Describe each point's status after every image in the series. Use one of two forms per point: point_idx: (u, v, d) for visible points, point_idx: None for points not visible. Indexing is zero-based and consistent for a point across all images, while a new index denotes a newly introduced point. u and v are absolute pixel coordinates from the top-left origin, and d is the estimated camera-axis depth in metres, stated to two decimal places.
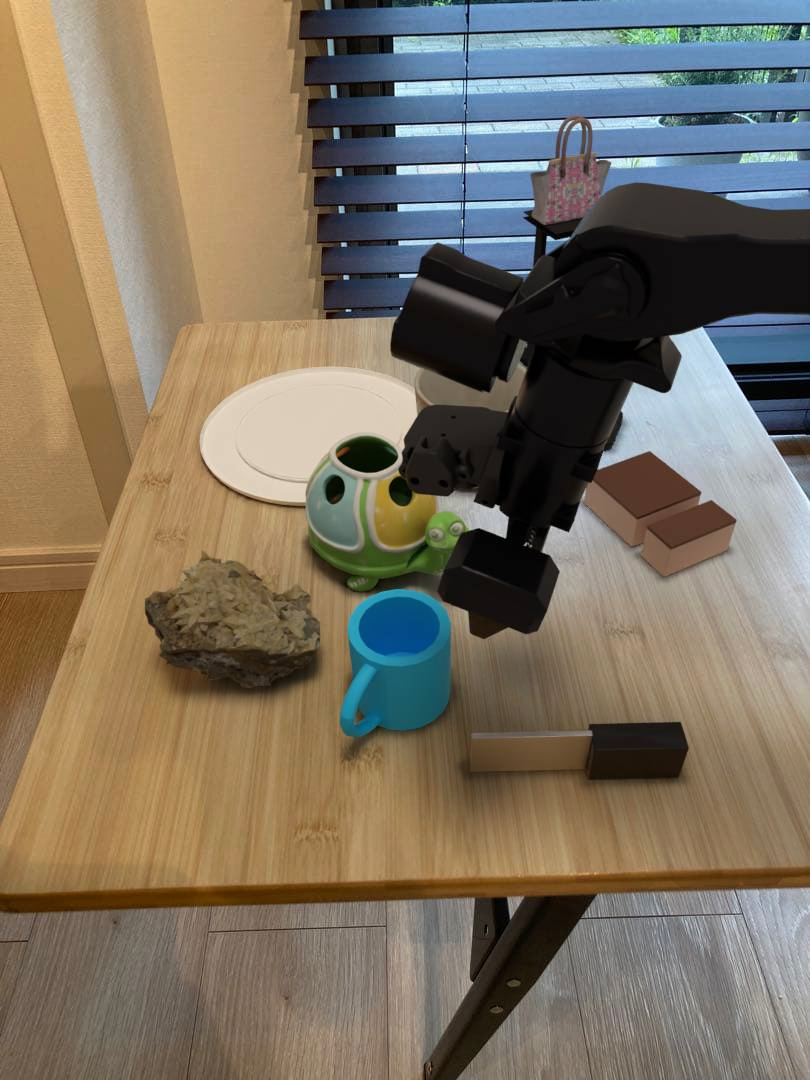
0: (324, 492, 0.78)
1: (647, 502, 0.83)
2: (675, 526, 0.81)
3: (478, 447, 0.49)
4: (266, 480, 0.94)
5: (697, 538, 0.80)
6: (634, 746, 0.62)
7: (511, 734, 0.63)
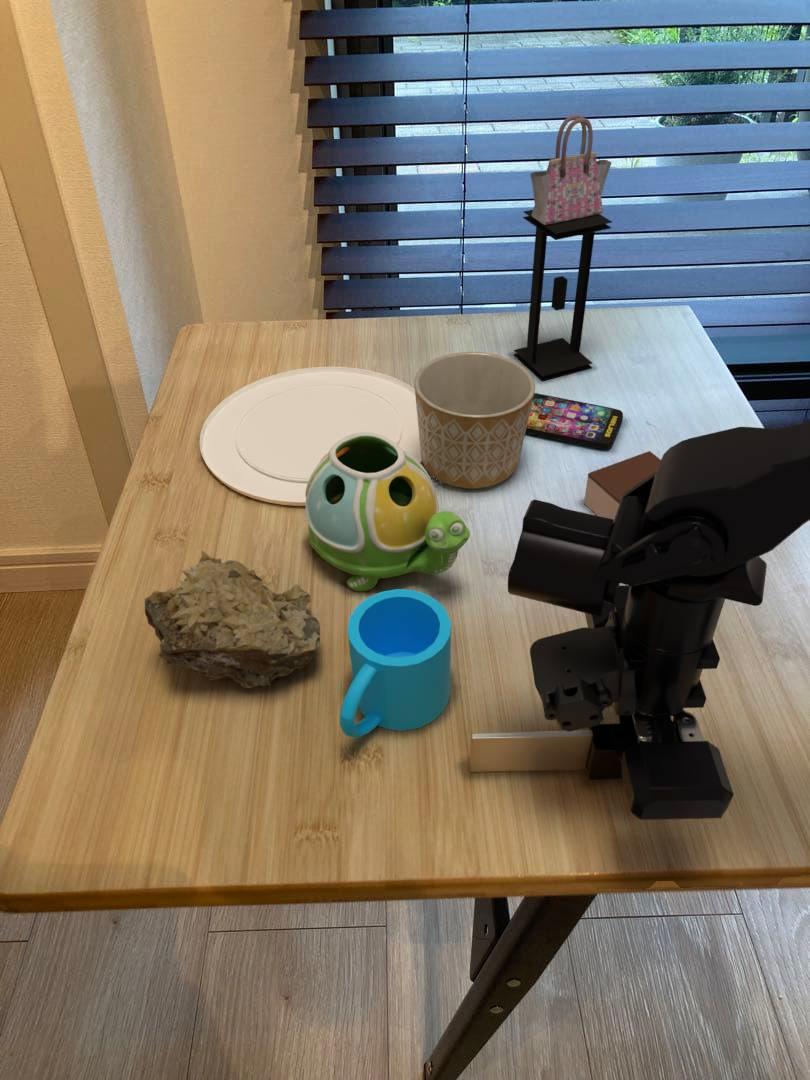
0: (324, 492, 0.78)
1: None
2: None
3: (608, 673, 0.55)
4: (266, 480, 0.94)
5: None
6: None
7: (511, 734, 0.63)
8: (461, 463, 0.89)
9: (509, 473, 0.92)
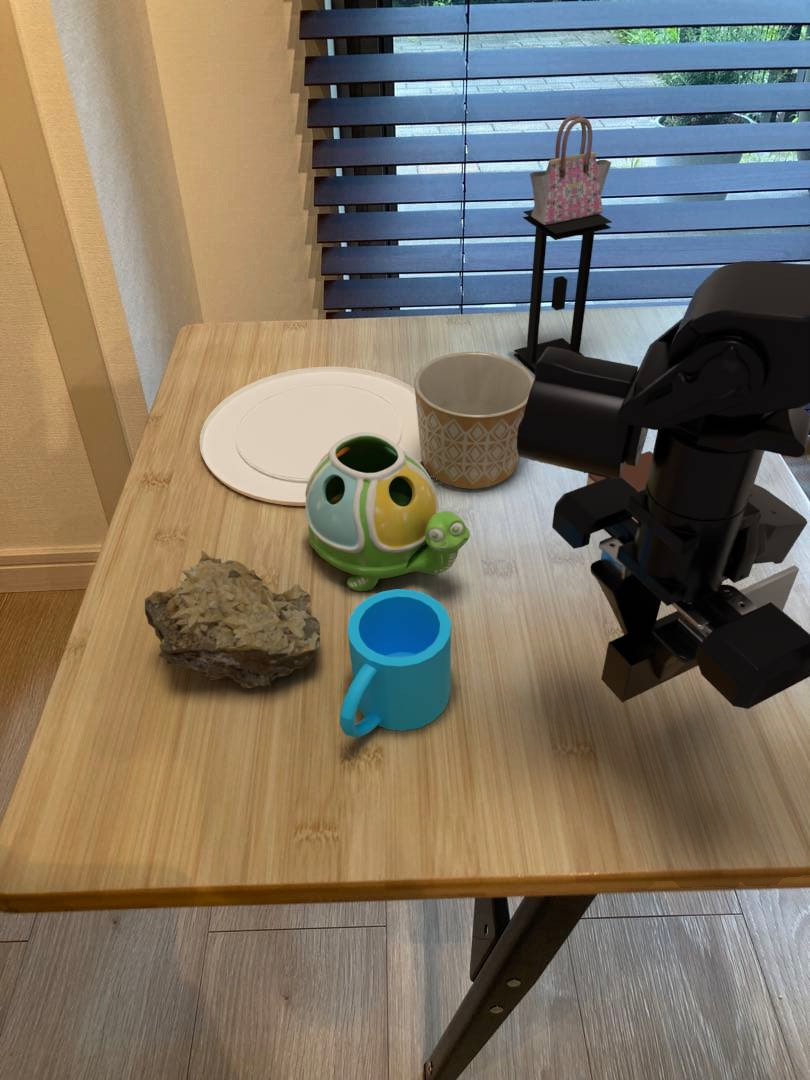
0: (324, 492, 0.78)
1: None
2: None
3: None
4: (266, 480, 0.94)
5: None
6: (656, 623, 0.58)
7: (766, 581, 0.60)
8: (461, 463, 0.89)
9: (509, 473, 0.92)
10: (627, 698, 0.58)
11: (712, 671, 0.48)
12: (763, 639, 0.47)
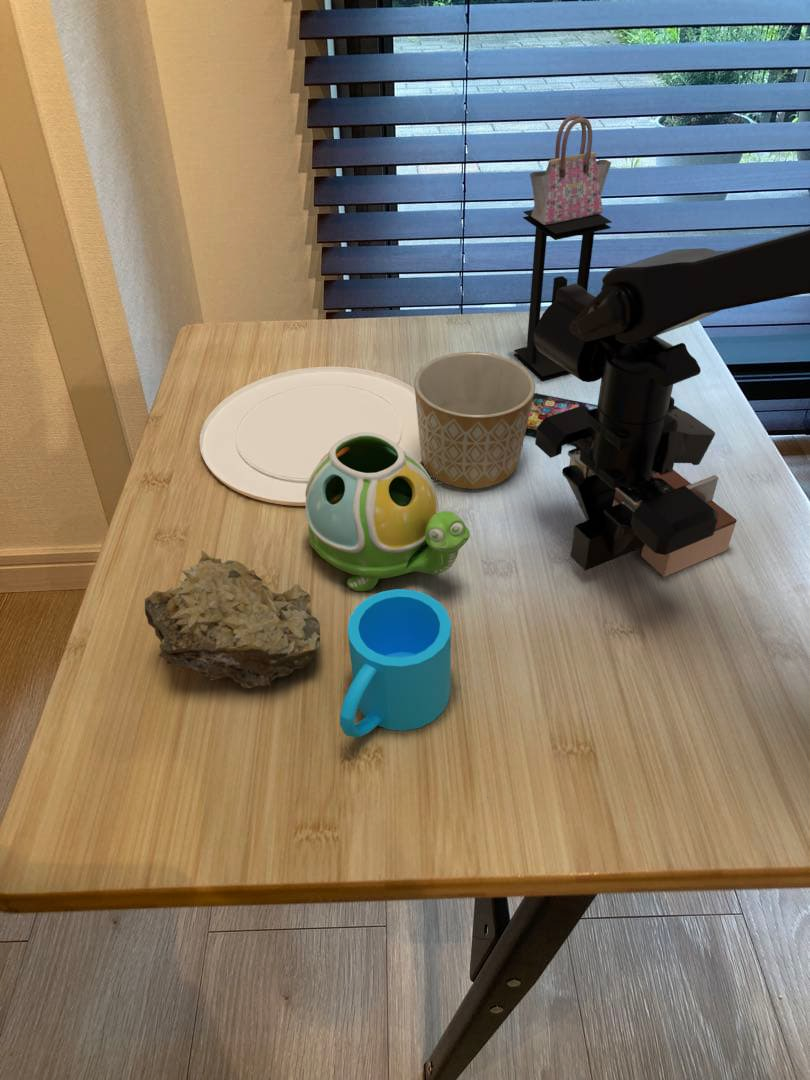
0: (324, 492, 0.78)
1: None
2: None
3: None
4: (266, 480, 0.94)
5: None
6: None
7: (693, 485, 0.81)
8: (461, 463, 0.89)
9: (509, 473, 0.92)
10: (588, 567, 0.79)
11: (642, 530, 0.69)
12: (676, 507, 0.69)
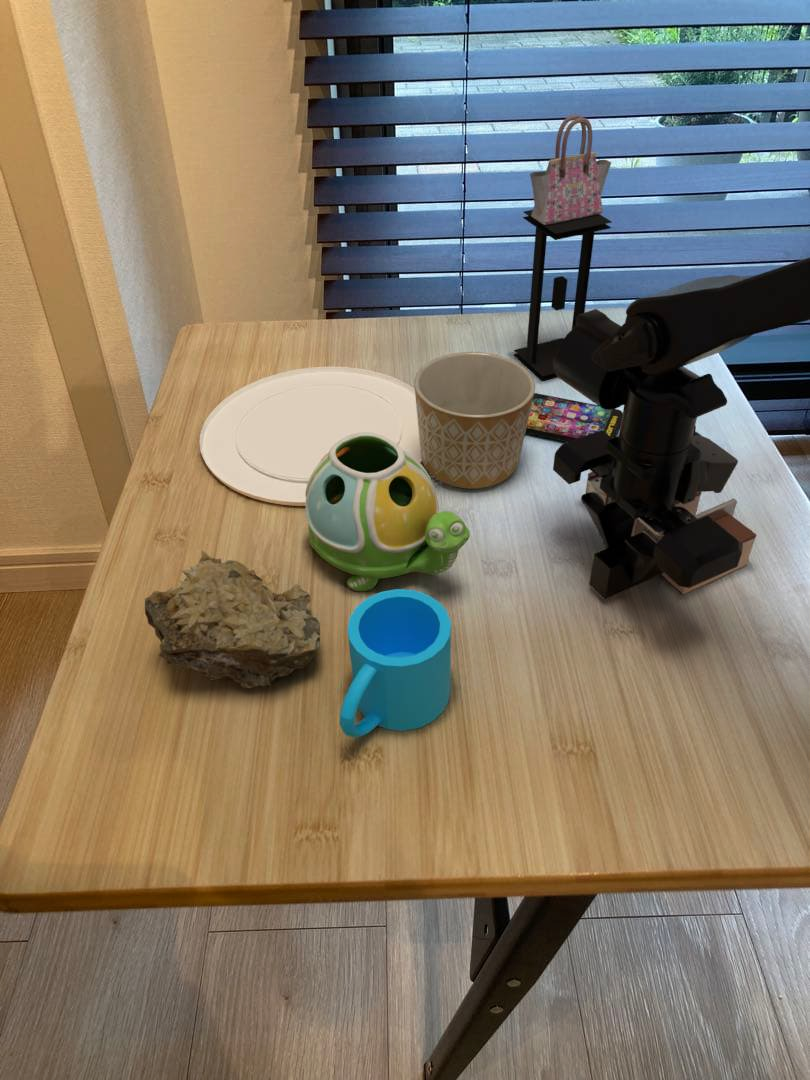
0: (324, 492, 0.78)
1: None
2: None
3: None
4: (266, 480, 0.94)
5: None
6: None
7: (712, 509, 0.80)
8: (461, 463, 0.89)
9: (509, 473, 0.92)
10: (608, 596, 0.78)
11: (665, 562, 0.68)
12: (700, 539, 0.67)
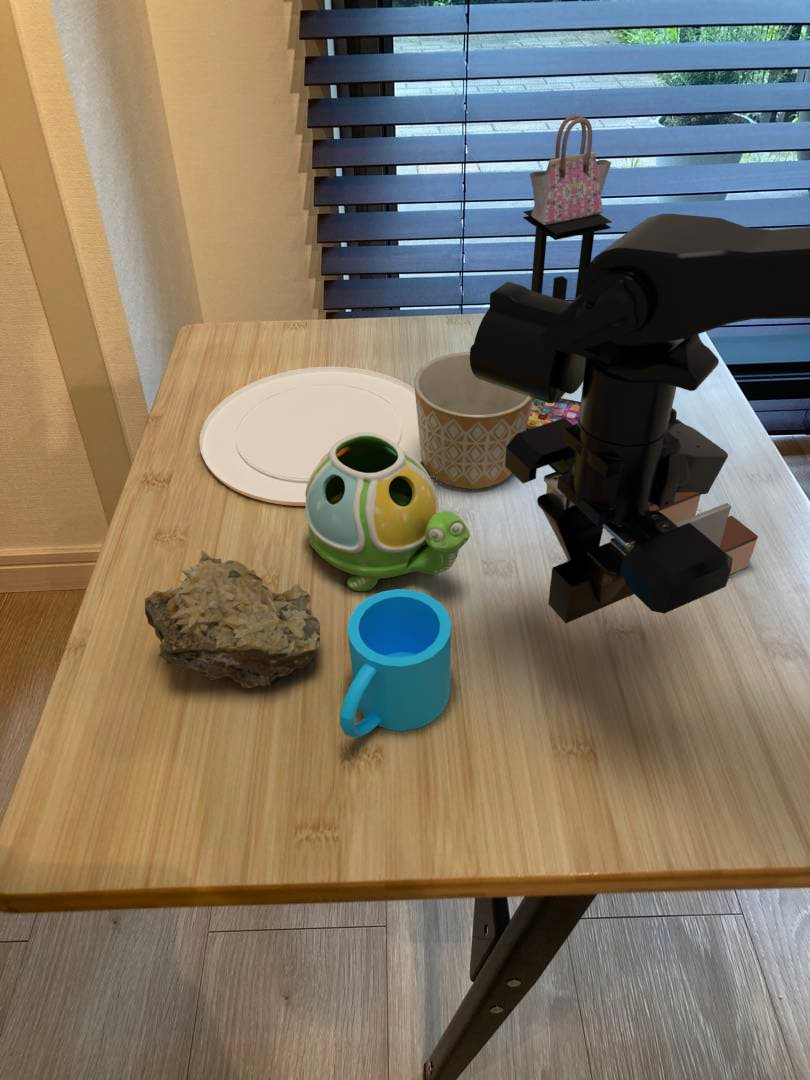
0: (324, 492, 0.78)
1: None
2: None
3: None
4: (266, 480, 0.94)
5: None
6: None
7: (700, 516, 0.66)
8: (461, 463, 0.89)
9: (509, 473, 0.92)
10: (570, 619, 0.64)
11: (634, 581, 0.54)
12: (678, 552, 0.54)
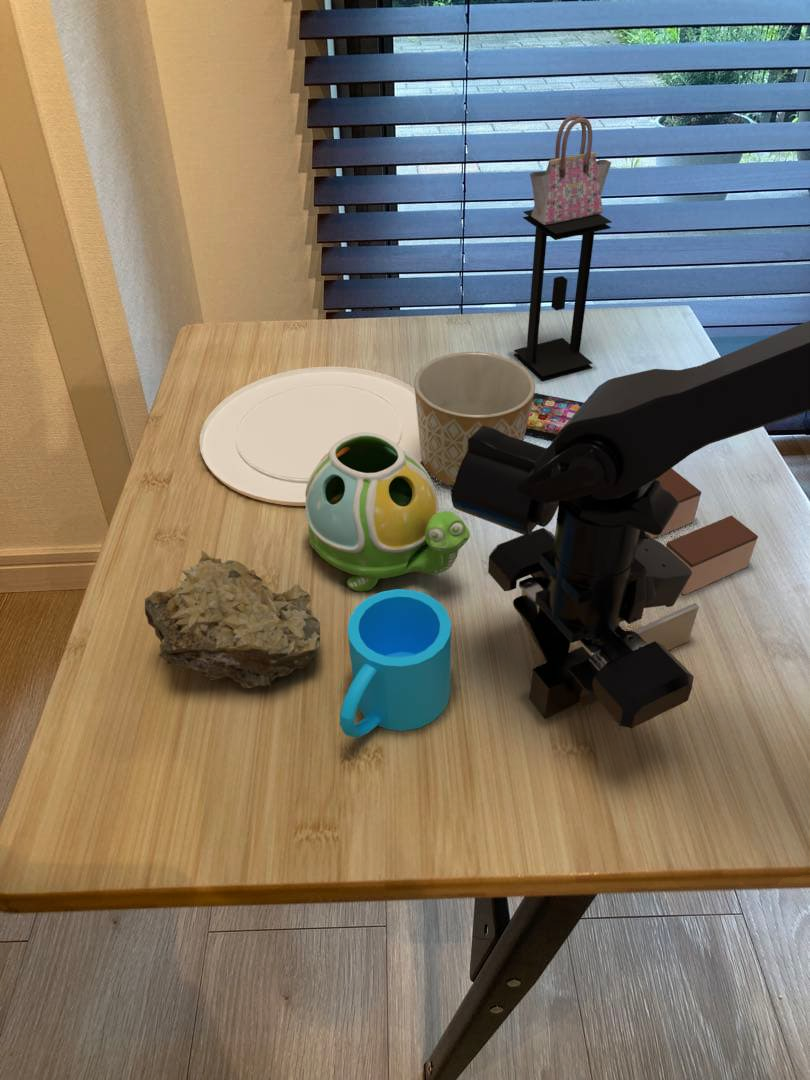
0: (324, 492, 0.78)
1: None
2: (695, 543, 0.79)
3: None
4: (266, 480, 0.94)
5: (718, 555, 0.78)
6: (574, 652, 0.69)
7: (670, 616, 0.71)
8: None
9: None
10: (549, 715, 0.69)
11: (604, 697, 0.59)
12: (644, 672, 0.59)
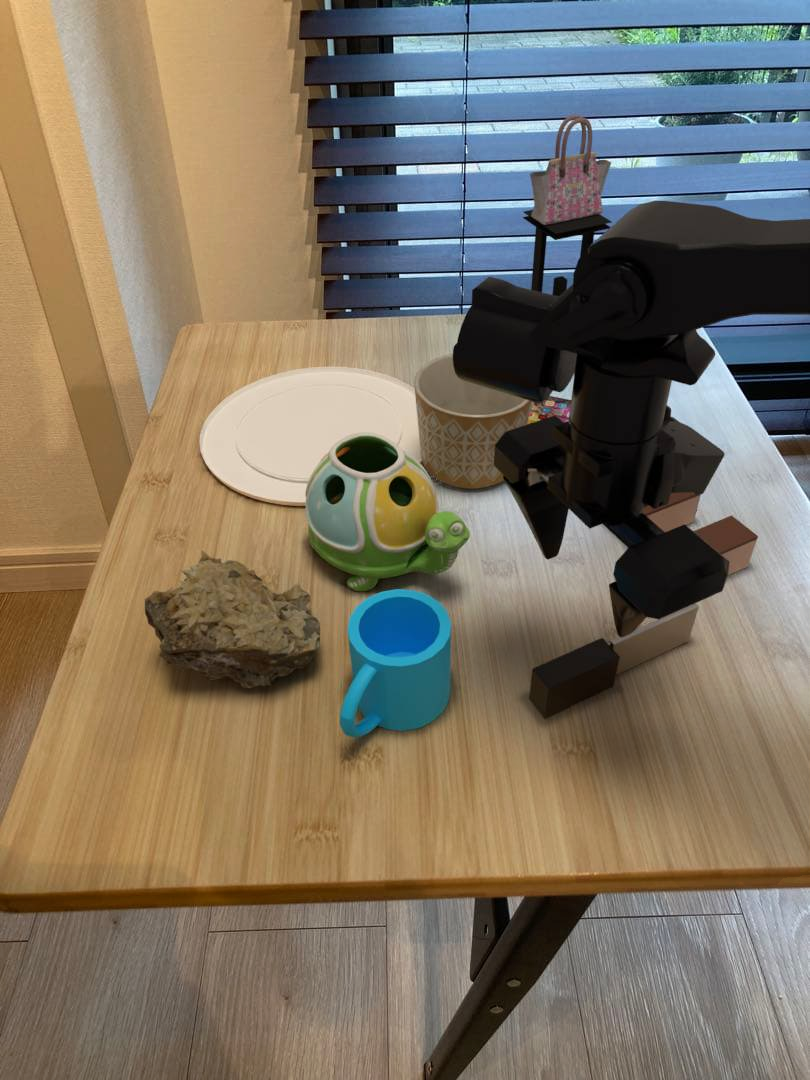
0: (324, 492, 0.78)
1: None
2: None
3: None
4: (266, 480, 0.94)
5: None
6: (574, 652, 0.69)
7: (670, 616, 0.71)
8: (461, 463, 0.89)
9: None
10: (549, 715, 0.69)
11: (627, 585, 0.52)
12: (673, 555, 0.51)
